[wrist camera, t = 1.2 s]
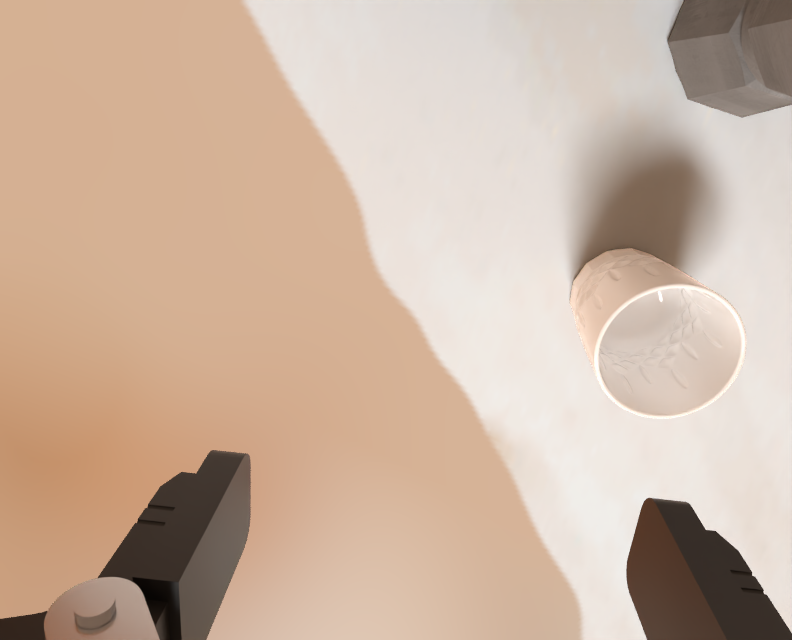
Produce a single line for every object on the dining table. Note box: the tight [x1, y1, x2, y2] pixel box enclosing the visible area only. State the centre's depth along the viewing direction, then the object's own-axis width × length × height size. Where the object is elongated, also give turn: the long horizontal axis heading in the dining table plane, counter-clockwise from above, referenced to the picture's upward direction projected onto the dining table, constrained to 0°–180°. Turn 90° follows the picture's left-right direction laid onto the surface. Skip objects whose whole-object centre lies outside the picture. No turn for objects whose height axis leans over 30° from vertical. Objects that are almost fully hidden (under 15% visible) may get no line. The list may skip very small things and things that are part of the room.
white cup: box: [570, 248, 746, 418], centre depth 38 cm, size 8×8×10 cm
